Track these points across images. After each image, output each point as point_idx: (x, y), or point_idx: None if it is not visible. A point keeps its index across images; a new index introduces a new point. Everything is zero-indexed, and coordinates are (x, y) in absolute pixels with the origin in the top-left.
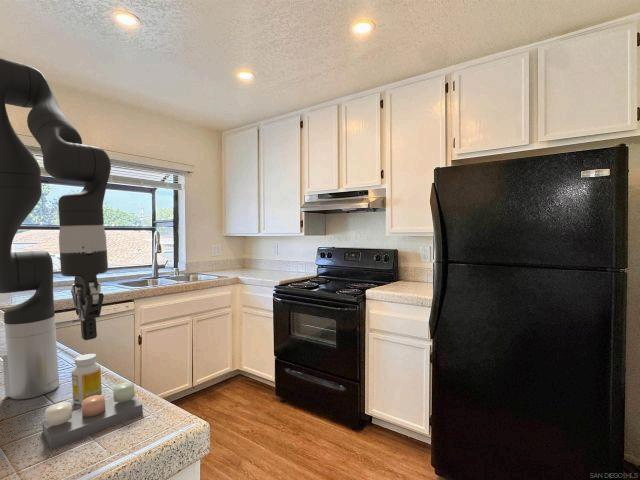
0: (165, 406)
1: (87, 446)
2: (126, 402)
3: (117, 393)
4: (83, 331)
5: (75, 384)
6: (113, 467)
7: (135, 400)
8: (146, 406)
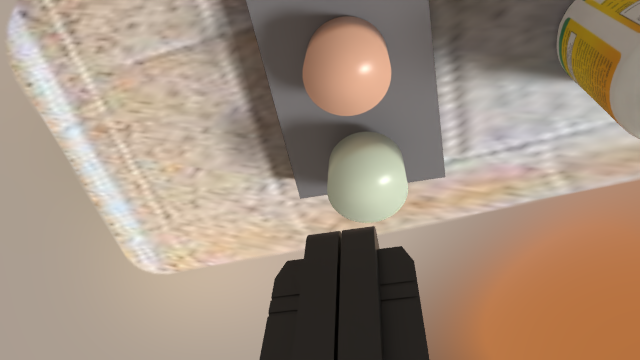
0: None
1: (182, 13)
2: None
3: (338, 159)
4: (302, 286)
5: (633, 8)
6: (22, 73)
7: None
8: None
